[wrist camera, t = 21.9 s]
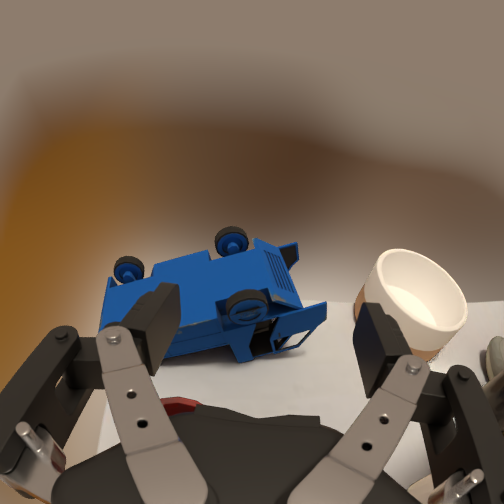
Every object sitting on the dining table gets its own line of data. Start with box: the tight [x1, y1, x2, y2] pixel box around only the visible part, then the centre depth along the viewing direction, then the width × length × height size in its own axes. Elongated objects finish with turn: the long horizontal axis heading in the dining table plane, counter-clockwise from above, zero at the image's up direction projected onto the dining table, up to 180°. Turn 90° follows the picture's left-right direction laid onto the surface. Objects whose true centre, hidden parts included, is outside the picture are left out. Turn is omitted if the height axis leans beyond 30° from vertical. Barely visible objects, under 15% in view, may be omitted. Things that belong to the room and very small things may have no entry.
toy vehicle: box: [98, 226, 327, 363], centre depth 35 cm, size 25×12×12 cm, turn 101°
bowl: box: [355, 249, 467, 362], centre depth 41 cm, size 17×17×8 cm
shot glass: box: [407, 474, 434, 504], centre depth 18 cm, size 7×7×7 cm
